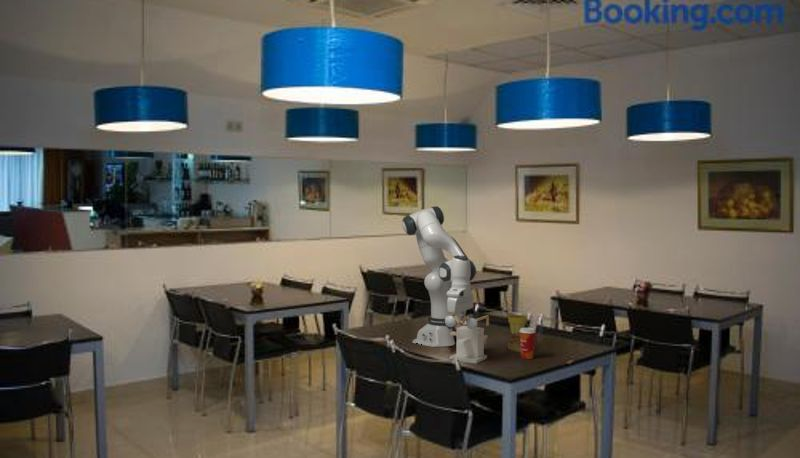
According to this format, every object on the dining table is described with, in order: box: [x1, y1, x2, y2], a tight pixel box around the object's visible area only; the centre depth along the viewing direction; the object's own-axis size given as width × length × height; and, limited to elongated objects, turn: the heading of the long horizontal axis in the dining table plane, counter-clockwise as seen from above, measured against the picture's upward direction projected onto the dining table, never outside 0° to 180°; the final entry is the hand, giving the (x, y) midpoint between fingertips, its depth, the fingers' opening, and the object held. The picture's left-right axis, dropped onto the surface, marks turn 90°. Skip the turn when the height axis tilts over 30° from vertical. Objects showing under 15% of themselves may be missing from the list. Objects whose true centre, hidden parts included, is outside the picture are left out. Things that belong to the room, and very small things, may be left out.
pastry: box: [507, 332, 536, 353], centre depth 337 cm, size 13×15×8 cm
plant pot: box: [507, 314, 528, 335], centre depth 374 cm, size 10×10×10 cm
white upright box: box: [448, 325, 489, 364], centre depth 314 cm, size 18×14×14 cm
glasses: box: [445, 314, 490, 329], centre depth 313 cm, size 16×14×5 cm
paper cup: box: [519, 327, 536, 360], centre depth 318 cm, size 8×8×14 cm
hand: (460, 320), depth 308 cm, fingers closed on glasses
